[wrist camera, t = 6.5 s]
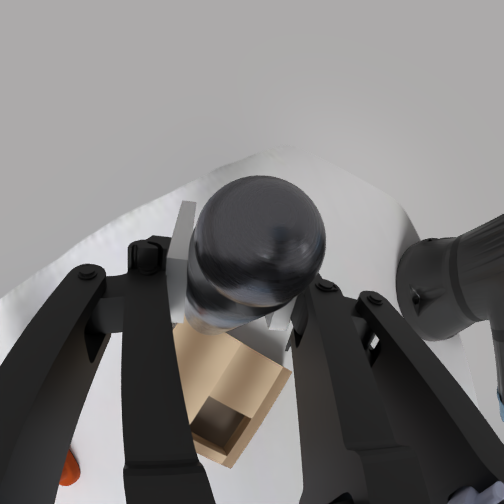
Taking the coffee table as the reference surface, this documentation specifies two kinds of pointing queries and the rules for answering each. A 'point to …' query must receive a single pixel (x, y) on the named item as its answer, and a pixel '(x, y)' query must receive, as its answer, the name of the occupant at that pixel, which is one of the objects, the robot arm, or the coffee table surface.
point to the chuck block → (224, 391)
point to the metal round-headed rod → (251, 253)
